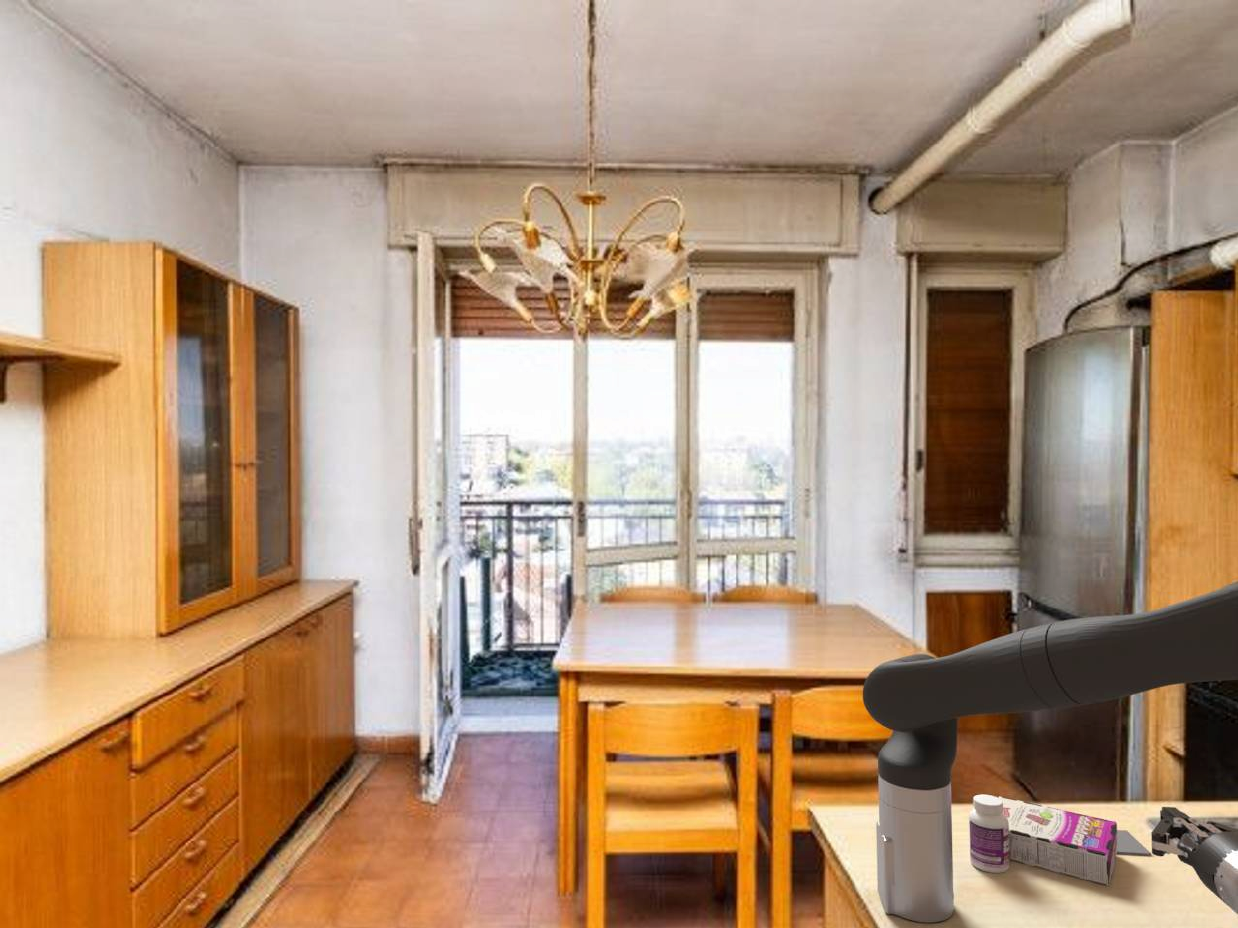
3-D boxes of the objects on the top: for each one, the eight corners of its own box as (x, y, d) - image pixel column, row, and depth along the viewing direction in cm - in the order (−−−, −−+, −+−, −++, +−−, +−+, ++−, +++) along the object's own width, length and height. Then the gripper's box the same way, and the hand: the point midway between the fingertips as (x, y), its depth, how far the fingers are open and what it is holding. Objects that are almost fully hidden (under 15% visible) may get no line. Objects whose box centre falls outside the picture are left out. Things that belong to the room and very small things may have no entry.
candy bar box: (1118, 853, 117) (999, 823, 127) (1118, 821, 117) (999, 793, 127) (1109, 889, 108) (982, 854, 119) (1109, 854, 108) (982, 821, 118)
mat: (1072, 851, 119) (1072, 849, 119) (1052, 828, 126) (1052, 826, 126) (1151, 855, 117) (1151, 853, 117) (1126, 832, 124) (1126, 830, 124)
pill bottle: (1014, 875, 112) (1013, 808, 112) (975, 872, 113) (973, 806, 113) (1003, 857, 117) (1002, 792, 117) (966, 854, 118) (964, 790, 118)
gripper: (1322, 852, 84) (1222, 787, 101) (1188, 846, 86) (1112, 783, 103) (1324, 922, 84) (1224, 845, 101) (1189, 914, 86) (1113, 840, 103)
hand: (1167, 814), depth 102 cm, fingers closed
